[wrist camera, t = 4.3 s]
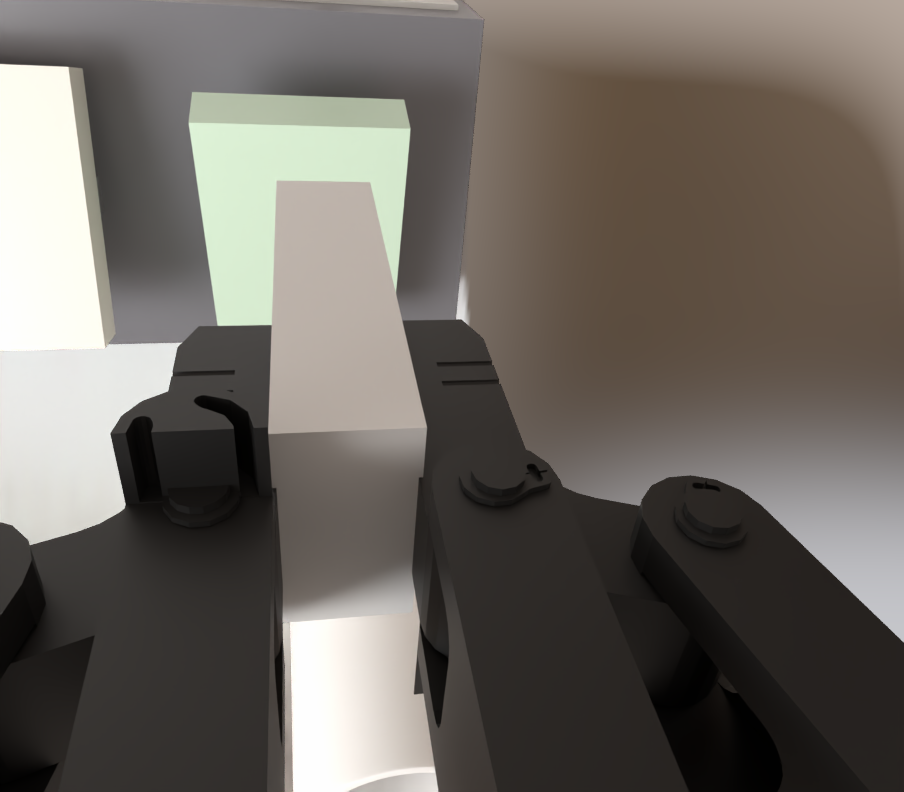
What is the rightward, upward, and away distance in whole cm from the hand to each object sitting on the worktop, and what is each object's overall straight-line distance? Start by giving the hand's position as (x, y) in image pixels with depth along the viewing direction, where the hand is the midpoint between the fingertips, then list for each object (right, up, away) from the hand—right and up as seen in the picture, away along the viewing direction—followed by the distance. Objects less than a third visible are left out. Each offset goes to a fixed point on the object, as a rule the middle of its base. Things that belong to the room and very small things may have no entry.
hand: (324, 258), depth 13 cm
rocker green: (-2, +3, +9) cm, 10 cm away
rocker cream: (-10, +3, +7) cm, 13 cm away
